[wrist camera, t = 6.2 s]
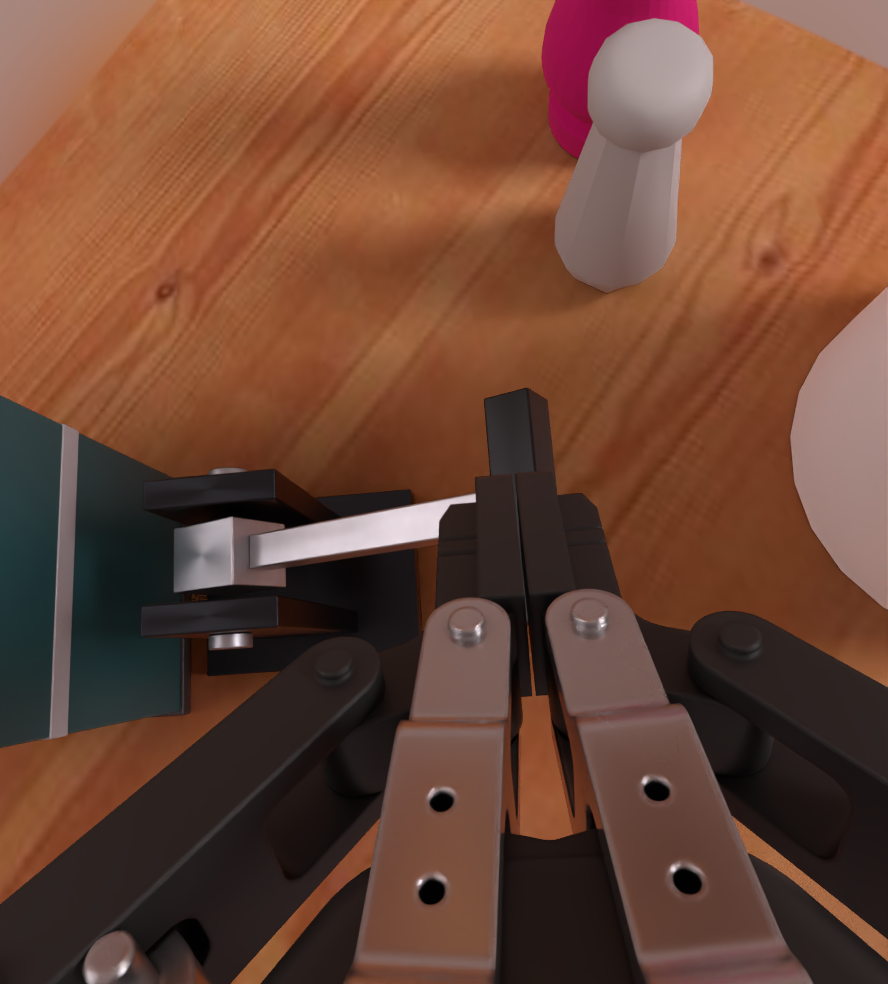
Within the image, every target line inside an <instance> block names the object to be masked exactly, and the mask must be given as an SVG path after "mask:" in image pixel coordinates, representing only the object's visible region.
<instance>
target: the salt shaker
mask: <svg viewBox="0 0 888 984" xmlns="http://www.w3.org/2000/svg"><path fill="white" fill-rule="evenodd" d="M712 85H713V56H712V54H711V52H710V51H709V49H708V47H707V46H706V44H705V43H704V41H703V39H702V38H701V36H699V35H698V34H696V33H695V32H693V31H692V30H690V29H689V28H687V27H686V26H684V25H682V24H681V23H679V22H676V21H670V20H663V19H656V18H653V19H648V20H644V21H639V22H634V23H629V24H626V25H625V26H623V27H622V28H621V29H619V30H618V31H616V32H615V33H613V34H612V35H611V36H609V37H608V38H606V40H605V41H604V43H603V45H602V46H601V48H600V50H599V51H598V53H597V55H596V56H595V58H594V60H593V63H592V66H591V68H590V71H589V78H588V112H589V115H590V117H591V119H592V120H593V124H592V127H591V129H590V132H589V134H588V137H587V139H586V142H585V144H584V147H583V149H582V152H581V154H580V157H579V159H578V162H577V164H576V167H575V169H574V172H573V174H572V177H571V179H570V182H569V184H568V187H567V189H566V192H565V194H564V197H563V199H562V201H561V204H560V206H559V209H558V211H557V214H556V216H555V247H556V249H557V251H558V253H559V255H560V257H561V259H562V261H563V263H564V265H565V267H566V269H567V270H568V271H569V272H570V274H571V275H572V276H573V277H574V278H575V279H577V280H579V281H581V282H583V283H586V284H588V285H590V286H592V287H594V288H597V289H599V290H601V291H603V292H605V293H609V292H612V291H614V290H616V289H619V288H623V287H628V286H633V285H637V284H640V283H641V282H643V281H644V280H646V279H647V278H649V277H650V276H652V275H653V274H655V273H656V272H658V271H659V270H660V269H661V268H662V267H663V266H664V265H665V263H666V261H667V259H668V257H669V255H670V253H671V251H672V249H673V247H674V245H675V243H676V232H677V205H678V191H679V176H680V161H681V146H682V138H683V137H684V136H686V135H687V134H689V133H690V132H691V131H692V130H693V129H694V128H695V126H696V124H697V122H698V120H699V118H700V116H701V115H702V113H703V111H704V109H705V107H706V105H707V103H708V101H709V98H710V96H711V93H712Z"/></svg>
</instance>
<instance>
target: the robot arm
mask: <svg viewBox="0 0 888 984" xmlns="http://www.w3.org/2000/svg"><path fill="white" fill-rule="evenodd" d="M515 483H516V496H517V510H518V523H519V537H520V546H519V537H518V527H517V518H516V509H515V499H514V490H513V481H512V474H503V475H492V476H480V477H475V491H476V502H472V503H460V504H450V506H449V507H448V509H447V510H446V512H445V513H444V515H443V516H442V517H441V519H440V520H439V536H438V539H439V542H438V558H437V579H436V601H435V611H434V612H432V614H431V615H430V616H429V618H428V619H427V621H426V624H425V628H424V631H423V632H422V633H421V634H419V635H418V636H417V637H415V638H414V639H412V640H410V641H408V642H406V643H404V644H402V645H399V646H396V647H393V648H390V649H387V650H384V651H381V652H378V653H377V651H376V649H375V648H374V647H373V646H372V645H371V644H370V643H368V642H367V641H364V640H362V639H359V638H355V637H336V638H331V639H327V640H324V641H322V642H320V643H317V644H316V645H314V646H312V647H311V648H309V649H308V650H306V651H305V652H304V653H303V654H302V655H300V656H299V657H298V658H297V659H296V660H294V661H293V662H292V663H291V664H290V665H288V666H287V667H286V668H285V669H283V670H282V671H281V672H280V673H279V674H277V675H276V676H275V677H274V678H273V679H271V680H270V681H269V682H268V683H267V684H265V685H264V686H263V687H262V688H261V689H259V690H258V691H257V692H256V693H255V694H253V695H252V696H251V697H250V698H249V699H247V700H246V701H245V702H244V703H243V704H241V705H240V706H239V707H238V708H236V709H235V710H234V711H233V712H232V713H230V714H229V715H228V716H227V717H226V718H224V719H223V720H222V721H221V722H220V723H218V724H217V725H216V726H215V727H214V728H212V729H211V730H210V731H209V732H208V733H206V734H205V735H204V736H203V737H202V738H200V739H199V740H198V741H197V742H196V743H194V744H193V745H192V746H191V747H189V748H188V749H187V750H186V751H185V752H183V753H182V754H181V755H180V756H179V757H177V758H176V759H175V760H174V761H173V762H171V763H170V764H169V765H168V766H167V767H165V768H164V769H163V770H162V771H161V772H159V773H158V774H157V775H156V776H155V777H153V778H152V779H151V780H150V781H148V782H147V783H146V784H145V785H144V786H142V787H141V788H140V789H139V790H138V791H136V792H135V793H134V794H133V795H132V796H130V797H129V798H128V799H127V800H126V801H124V802H123V803H122V804H121V805H120V806H118V807H117V808H116V809H115V810H114V811H112V812H111V813H110V814H109V815H108V816H106V817H105V818H104V819H103V820H101V821H100V822H99V823H98V824H97V825H95V826H94V827H93V828H92V829H91V830H89V831H88V832H87V833H86V834H85V835H83V836H82V837H81V838H80V839H79V840H77V841H76V842H75V843H74V844H73V845H71V846H70V847H69V848H68V849H67V850H65V851H64V852H63V853H62V854H61V855H59V856H58V857H57V858H56V859H54V860H53V861H52V862H51V863H50V864H48V865H47V866H46V867H45V868H44V869H42V870H41V871H40V872H39V873H38V874H36V875H35V876H34V877H33V878H32V879H30V880H29V881H28V882H27V883H26V884H24V885H23V886H22V887H21V888H20V889H18V890H17V891H16V892H15V893H14V894H12V895H11V896H10V897H9V898H7V899H6V900H5V901H4V902H3V903H1V904H0V984H230V983H231V982H232V981H233V980H234V979H235V978H236V977H237V976H238V974H239V973H240V972H241V971H242V970H243V969H244V968H245V967H246V966H247V964H248V963H249V962H250V961H251V960H252V959H253V958H254V957H255V956H256V954H257V953H258V952H259V951H260V950H261V949H262V948H263V947H264V946H265V945H266V943H267V942H268V941H269V940H270V939H271V938H272V937H273V936H274V935H275V933H276V932H277V931H278V930H279V929H280V928H281V927H282V926H283V925H284V923H285V922H286V921H287V920H288V919H289V918H290V917H291V916H292V915H293V913H294V912H295V911H296V910H297V909H298V908H299V907H300V906H301V905H302V903H303V902H304V901H305V900H306V899H307V898H308V897H309V896H310V895H311V893H312V892H313V891H314V890H315V889H316V888H317V887H318V886H319V885H320V883H321V882H322V881H323V880H324V879H325V878H326V877H327V876H328V875H329V874H330V872H331V871H332V870H333V869H334V868H335V867H336V866H337V865H338V864H339V862H340V861H341V860H342V859H343V858H344V857H345V856H346V855H347V854H348V852H349V851H350V850H351V849H352V848H353V847H354V846H355V845H356V844H357V842H358V841H359V840H360V839H361V838H362V837H363V836H364V835H365V834H366V832H367V831H368V830H369V829H370V828H371V827H372V826H373V825H374V824H375V822H376V821H377V820H378V819H379V818H380V821H379V827H378V832H377V838H376V843H375V849H374V854H373V860H372V865H371V867H370V868H368V869H366V870H365V871H363V872H361V873H360V874H359V875H358V876H356V877H355V878H354V879H352V880H351V881H350V882H348V883H347V884H346V885H345V886H344V887H343V888H342V889H341V890H340V891H339V892H338V893H336V894H335V895H334V896H333V897H332V898H331V899H330V901H329V902H328V903H327V904H326V905H325V906H324V907H323V909H322V910H321V911H320V912H319V913H318V915H317V916H316V917H315V918H314V920H313V921H312V922H311V923H310V924H309V926H308V927H307V928H306V929H305V931H304V932H303V933H302V934H301V935H300V937H299V938H298V939H297V940H296V941H295V943H294V944H293V945H292V946H291V948H290V949H289V950H288V951H287V952H286V954H285V955H284V956H283V957H282V958H281V960H280V961H279V962H278V963H277V965H276V966H275V967H274V968H273V969H272V971H271V972H270V973H269V974H268V975H267V977H266V978H265V979H264V980H263V981H262V983H261V984H888V961H886V960H885V959H884V958H883V957H882V956H881V955H879V954H878V953H877V952H876V951H875V950H874V949H872V948H871V947H870V946H869V945H868V944H867V943H865V942H864V941H863V940H862V939H861V938H859V937H858V936H857V935H856V934H855V933H854V932H852V931H851V930H850V929H849V928H848V927H847V926H845V925H844V924H843V923H842V922H841V921H840V920H838V919H837V918H836V917H835V916H834V915H833V914H831V913H830V912H829V911H828V910H827V909H826V908H824V907H823V906H822V905H821V904H820V903H819V902H817V901H816V900H815V899H814V898H813V897H812V896H810V895H809V894H808V893H807V892H806V891H805V890H803V889H802V888H801V887H800V886H799V885H797V884H796V883H795V882H794V881H792V880H791V879H790V878H789V877H787V876H786V875H784V874H783V873H781V872H780V871H778V870H777V869H776V868H774V867H773V866H771V865H769V864H768V863H766V862H764V861H762V860H760V859H759V858H757V857H755V856H753V855H751V854H749V853H747V851H746V849H745V846H744V844H743V841H742V839H741V837H740V834H739V832H738V830H737V827H736V825H735V822H734V820H733V818H732V816H733V817H734V818H736V819H737V820H738V821H739V822H741V823H742V824H743V825H745V826H746V827H747V828H748V829H750V830H751V831H752V832H753V833H755V834H756V835H757V836H758V837H760V838H761V839H762V840H763V841H765V842H766V843H767V844H768V845H770V846H771V847H772V848H774V849H775V850H776V851H777V852H779V853H780V854H781V855H782V856H784V857H785V858H786V859H787V860H789V861H790V862H791V863H792V864H794V865H795V866H796V867H797V868H799V869H800V870H801V871H802V872H804V873H805V874H806V875H808V876H809V877H810V878H811V879H813V880H814V881H815V882H816V883H818V884H819V885H820V886H821V887H823V888H824V889H825V890H826V891H828V892H829V893H830V894H831V895H833V896H834V897H835V898H837V899H838V900H839V901H840V902H842V903H843V904H844V905H845V906H847V907H848V908H849V909H850V910H852V911H853V912H854V913H855V914H857V915H858V916H859V917H860V918H862V919H863V920H864V921H865V922H867V923H868V924H869V925H871V926H872V927H873V928H874V929H876V930H877V931H878V932H879V933H881V934H882V935H883V936H884V937H886V938H887V939H888V687H886V686H884V685H882V684H880V683H879V682H877V681H875V680H873V679H871V678H870V677H868V676H866V675H864V674H862V673H861V672H859V671H857V670H855V669H853V668H852V667H850V666H848V665H846V664H844V663H843V662H841V661H839V660H837V659H835V658H834V657H832V656H830V655H828V654H826V653H825V652H823V651H821V650H819V649H817V648H816V647H814V646H812V645H810V644H808V643H807V642H805V641H803V640H801V639H799V638H798V637H796V636H794V635H792V634H790V633H789V632H787V631H785V630H783V629H781V628H780V627H778V626H776V625H774V624H772V623H770V622H769V621H767V620H765V619H763V618H761V617H758V616H755V615H752V614H749V613H744V612H737V611H722V612H716V613H712V614H709V615H707V616H704V617H703V618H701V619H700V620H698V621H697V622H696V623H695V624H694V626H693V627H692V629H691V631H688V630H682V629H676V628H670V627H665V626H660V625H657V624H654V623H651V622H649V621H646V620H644V619H642V618H641V617H639V616H637V615H636V614H635V613H633V611H632V609H631V607H630V606H629V605H628V604H627V603H626V602H625V601H624V600H623V599H622V597H621V595H620V591H619V587H618V584H617V580H616V576H615V573H614V569H613V565H612V562H611V558H610V554H609V551H608V547H607V543H606V541H605V536H604V532H603V529H602V525H601V521H600V518H599V514H598V510H597V507H596V506H595V505H594V504H593V503H591V502H590V501H589V500H588V499H587V498H586V497H585V496H584V495H583V494H582V493H577V494H565V495H557V492H556V487H555V482H554V477H553V472H552V470H547V471H536V472H525V473H515ZM520 549H521V555H520ZM521 560H522V565H521ZM522 570H523V574H522ZM523 579H524V583H523ZM524 589H525V593H524ZM525 598H526V606H525ZM526 607H527V616H528V626H529V635H530V644H531V654H532V663H533V672H534V681H535V691H536V696H539V695H548V696H549V704H550V712H551V730H552V738H553V743H554V748H555V752H556V757H557V762H558V766H559V771H560V775H561V780H562V785H563V789H564V794H565V799H566V803H567V808H568V813H569V817H570V822H571V826H572V831H573V835H570V836H567V837H563V838H560V839H556V840H542V839H537V838H532V837H527V836H522V835H520V760H521V736H520V728H521V725H522V721H523V713H522V702H521V697H527V696H532V687H531V674H530V660H529V646H528V633H527V619H526Z"/></svg>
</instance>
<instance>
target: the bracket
mask: <svg viewBox="0 0 888 984" xmlns="http://www.w3.org/2000/svg"><path fill="white" fill-rule="evenodd" d="M412 504H414V494H413V493H412V491H411V490H410V489H408V490H396V491H385V492H374V493H362V494H351V495H339V496H328V497H317V498H314V497H313V496H311V495H310V494H309V493H307V492H306V491H305V490H303V489H302V488H300V487H299V486H298V485H296V484H295V483H293V482H292V481H291V480H289V479H288V478H286V477H285V476H284V475H282V474H281V473H279V472H278V471H277V470H275V469H267V470H256V471H249V470H246V469H243V468H237V467H222V468H216V469H212V470H210V471H209V473H208V475H201V476H190V477H179V478H168V479H157V480H147V481H144V483H143V510H145V511H148V512H151V513H153V514H156V515H159V516H162V517H165V518H167V519H170V520H173V521H176V522H179V523H182V524H184V525H187V526H188V525H193V524H198V523H202V522H207V521H212V520H217V519H221V518H226V517H231V516H234V517H241V518H247V519H254V520H261V521H268V522H274V523H281V524H284V525H285V528H290V527H296V526H301V525H306V524H312V523H317V522H322V521H327V520H333V519H338V518H343V517H348V516H354V515H359V514H364V513H370V512H375V511H380V510H385V509H391V508H396V507H401V506H407V505H412ZM421 633H422V619H421V603H420V587H419V570H418V554H417V548H413V549H406V550H400V551H393V552H387V553H380V554H373V555H367V556H360V557H354V558H347V559H341V560H334V561H328V562H321V563H315V564H308V565H302V566H295V567H289V568H286V587H285V588H279V589H272V590H265V591H257V592H250V593H242V594H235V595H207V600H202V601H190V602H177V603H164V604H151V605H143V606H142V607H141V637H143V638H208V676H217V675H232V674H246V673H261V672H276V671H282V670H283V669H285V668H286V667H287V666H288V665H290V664H291V663H292V662H293V661H294V660H296V659H297V658H298V657H299V656H300V655H302V654H303V653H304V652H305V651H306V650H308V649H309V648H311V647H312V646H314V645H316V644H317V643H320V642H322V641H324V640H327V639H331V638H336V637H355V638H359V639H362V640H364V641H367V642H368V643H370V644H371V645H372V646H373V647H374V648H375V649H376V651H377V653H378V652H381V651H384V650H387V649H390V648H393V647H396V646H399V645H402V644H404V643H406V642H408V641H410V640H412V639H414V638H415V637H417V636H418V635H419V634H421Z"/></svg>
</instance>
